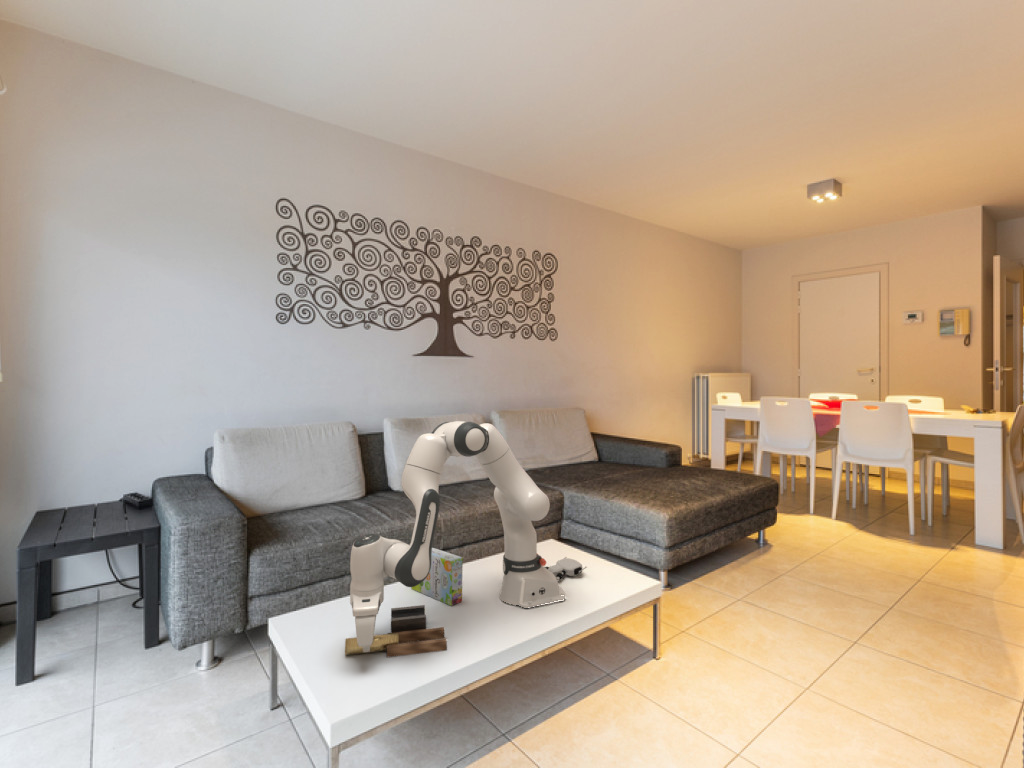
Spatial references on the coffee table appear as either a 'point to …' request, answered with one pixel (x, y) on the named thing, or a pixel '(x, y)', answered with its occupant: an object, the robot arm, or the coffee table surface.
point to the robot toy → (566, 568)
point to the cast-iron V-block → (408, 618)
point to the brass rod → (377, 645)
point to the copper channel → (418, 646)
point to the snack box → (443, 578)
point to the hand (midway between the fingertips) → (367, 645)
